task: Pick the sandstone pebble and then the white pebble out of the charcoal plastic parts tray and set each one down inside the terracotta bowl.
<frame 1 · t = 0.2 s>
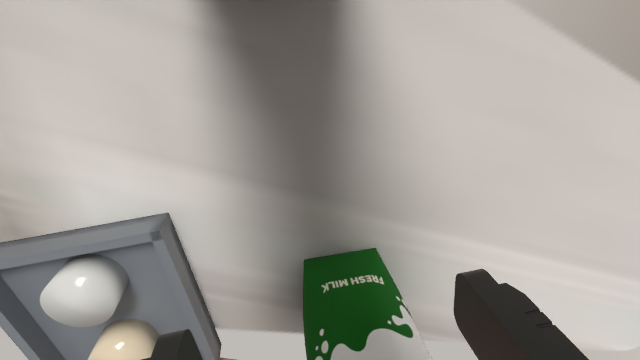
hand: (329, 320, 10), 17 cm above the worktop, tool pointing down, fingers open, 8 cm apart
tray: (117, 302, 30), on the worktop
milk carton: (341, 280, 33), on the worktop
white pebble: (95, 277, 27), point 1 cm above the worktop, touching tray
sandstone pebble: (130, 337, 31), point 1 cm above the worktop, touching tray
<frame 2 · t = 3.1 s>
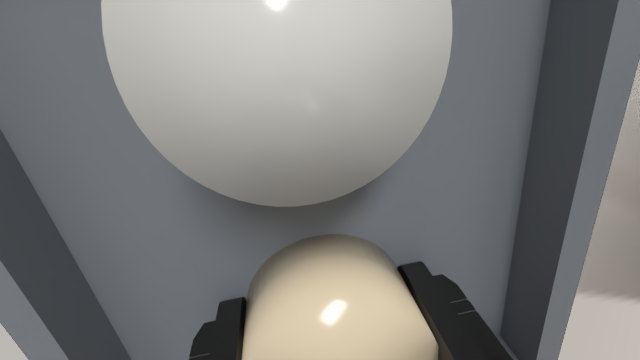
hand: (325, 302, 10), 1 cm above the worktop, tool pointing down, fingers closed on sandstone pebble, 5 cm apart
tray: (304, 184, 10), on the worktop
white pebble: (282, 48, 7), point 1 cm above the worktop, touching tray
sandstone pebble: (325, 299, 11), point 1 cm above the worktop, touching gripper, tray
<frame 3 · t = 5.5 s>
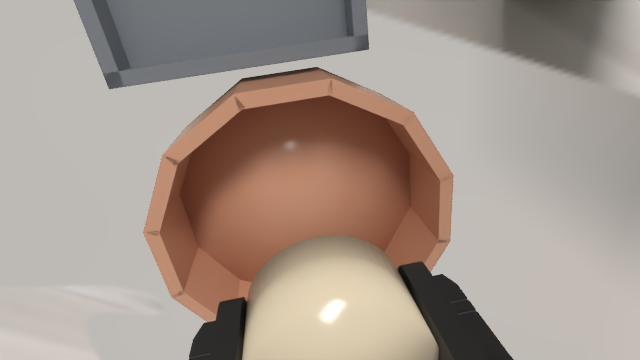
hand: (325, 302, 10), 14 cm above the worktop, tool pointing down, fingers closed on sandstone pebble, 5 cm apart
sandstone pebble: (326, 300, 11), point 14 cm above the worktop, touching gripper
bowl: (301, 196, 25), on the worktop
when the fingers open (2 cm above the worktop, at t = 7.7 s): sandstone pebble drops 1 cm, resting on bowl.
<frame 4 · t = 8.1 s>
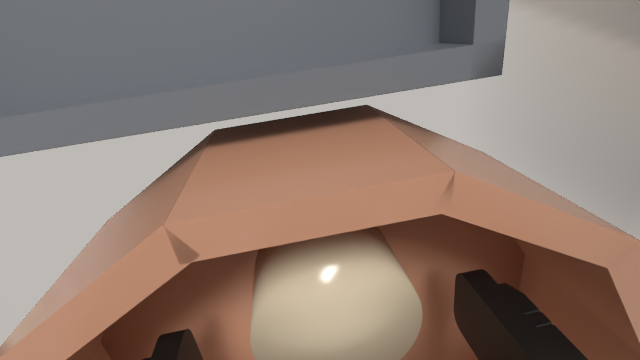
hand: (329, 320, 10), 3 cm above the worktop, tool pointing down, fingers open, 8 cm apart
sandstone pebble: (324, 269, 12), point 1 cm above the worktop, touching bowl
bowl: (326, 321, 14), on the worktop
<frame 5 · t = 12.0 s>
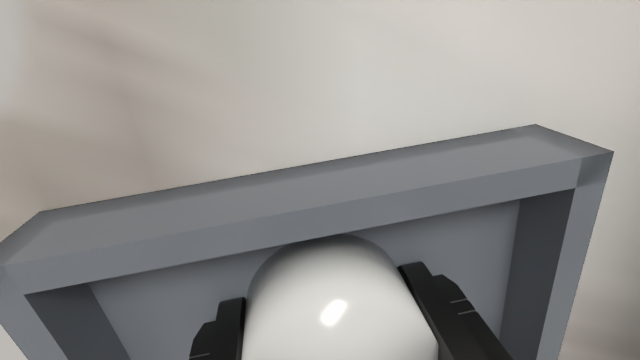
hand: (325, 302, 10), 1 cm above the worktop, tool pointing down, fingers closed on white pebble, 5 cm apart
tray: (333, 355, 13), on the worktop
white pebble: (325, 299, 11), point 1 cm above the worktop, touching gripper, tray
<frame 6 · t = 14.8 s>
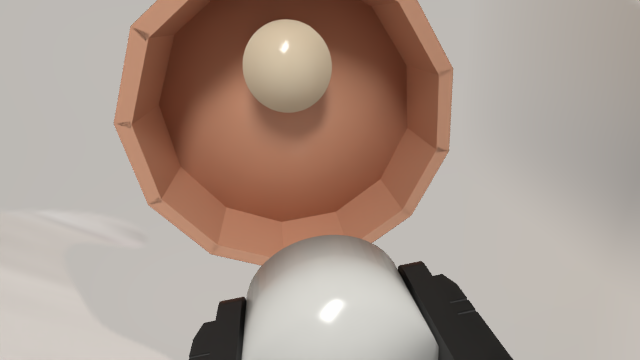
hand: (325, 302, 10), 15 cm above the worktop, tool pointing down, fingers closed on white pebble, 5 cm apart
white pebble: (325, 300, 11), point 15 cm above the worktop, touching gripper
sandstone pebble: (285, 63, 21), point 1 cm above the worktop, touching bowl
bowl: (290, 114, 23), on the worktop
when the fingers open (2 cm above the worktop, at t = 17.4 s): white pebble drops 1 cm, resting on bowl.
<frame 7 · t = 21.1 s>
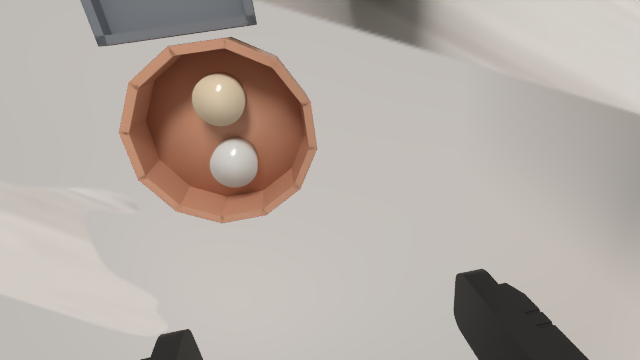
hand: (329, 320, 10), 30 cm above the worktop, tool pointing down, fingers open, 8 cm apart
white pebble: (236, 157, 38), point 1 cm above the worktop, touching bowl
sandstone pebble: (222, 96, 35), point 1 cm above the worktop, touching bowl
bowl: (229, 126, 37), on the worktop
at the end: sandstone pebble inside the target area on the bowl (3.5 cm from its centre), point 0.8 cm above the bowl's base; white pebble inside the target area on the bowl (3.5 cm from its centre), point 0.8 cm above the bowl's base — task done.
